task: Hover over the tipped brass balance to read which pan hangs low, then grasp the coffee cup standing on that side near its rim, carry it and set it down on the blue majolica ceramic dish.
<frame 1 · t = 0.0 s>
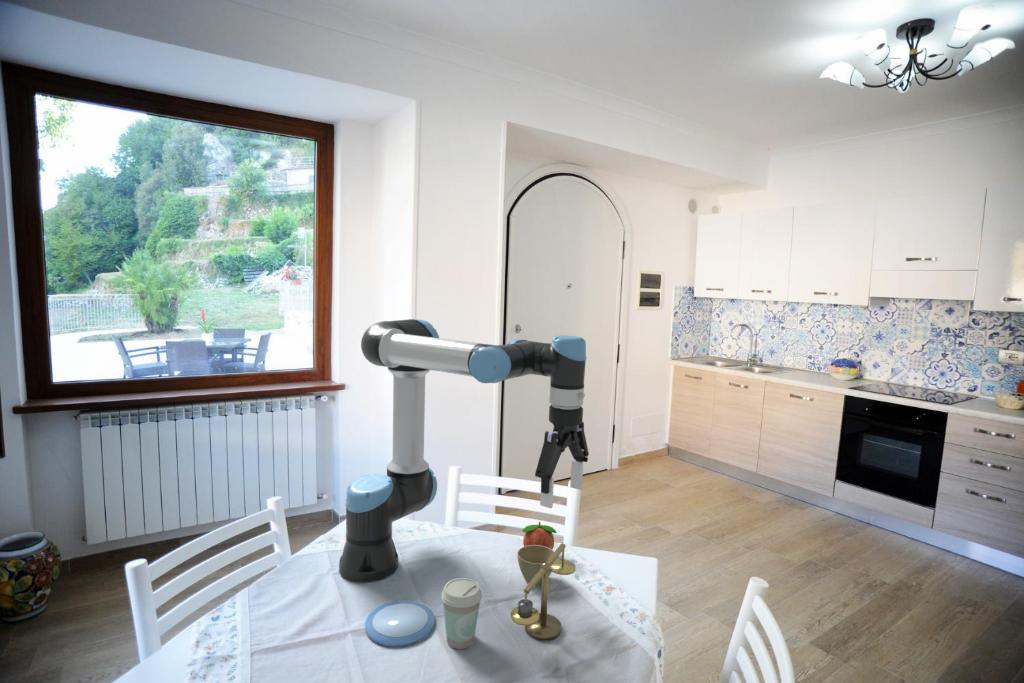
hand: (561, 497, 127), 28 cm above the table, fingers open, 13 cm apart
balance: (542, 629, 124), on the table
fruit: (538, 556, 156), on the table
coffee cup: (460, 641, 119), on the table
flower pot: (535, 581, 144), on the table
dish: (400, 624, 124), on the table
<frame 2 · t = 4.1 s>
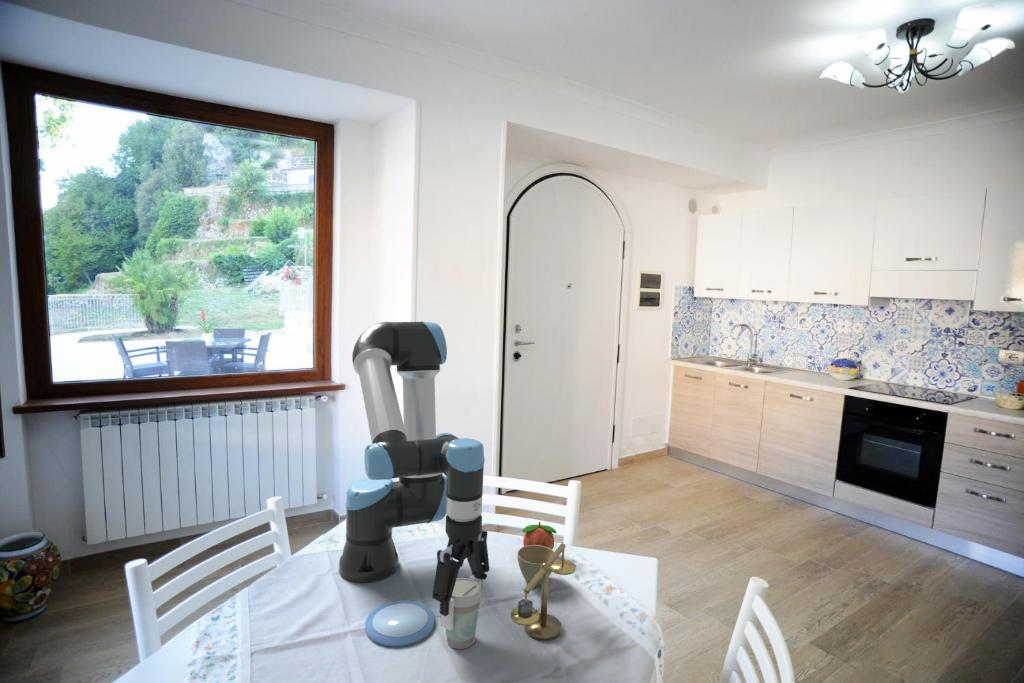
hand: (461, 616, 118), 5 cm above the table, fingers closed on coffee cup, 8 cm apart
coffee cup: (460, 641, 119), on the table, touching gripper
everything else where it was.
when the fingers open (8 cm above the table, at t = 9.6 s): coffee cup drops 1 cm, resting on dish.
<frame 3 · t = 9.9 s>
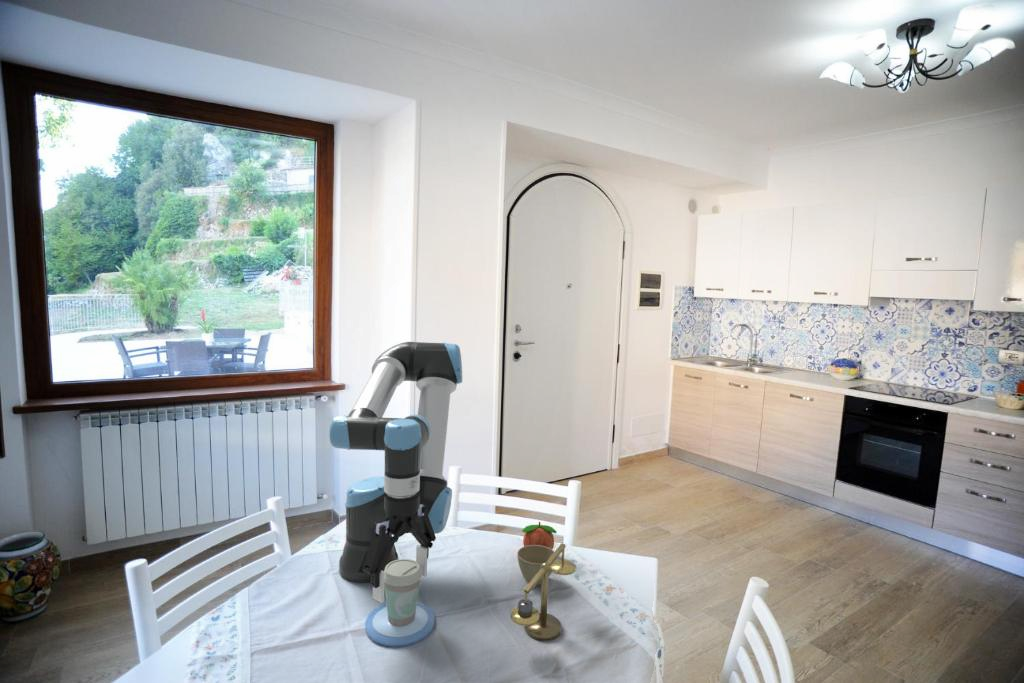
hand: (400, 586, 122), 9 cm above the table, fingers open, 12 cm apart
coffee cup: (401, 619, 124), point 1 cm above the table, touching dish
everything else where it was.
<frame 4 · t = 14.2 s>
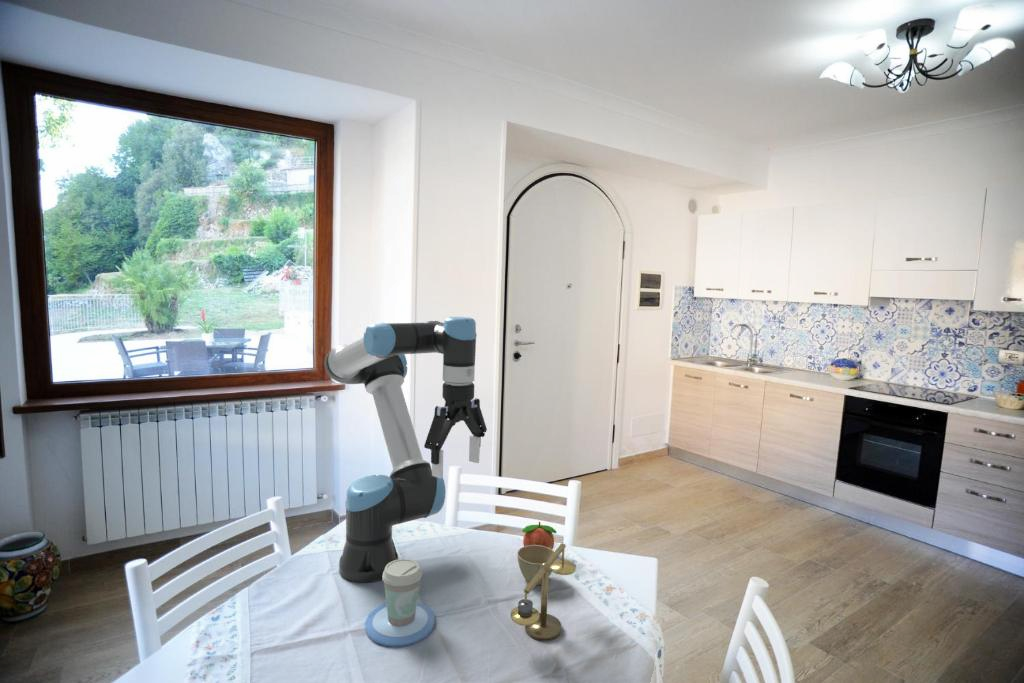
hand: (456, 469, 135), 31 cm above the table, fingers open, 13 cm apart
nothing on the table moved.
at the end: coffee cup 0.4 cm from the dish (horizontally); coffee cup tilted 0°; the gripper is holding nothing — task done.
